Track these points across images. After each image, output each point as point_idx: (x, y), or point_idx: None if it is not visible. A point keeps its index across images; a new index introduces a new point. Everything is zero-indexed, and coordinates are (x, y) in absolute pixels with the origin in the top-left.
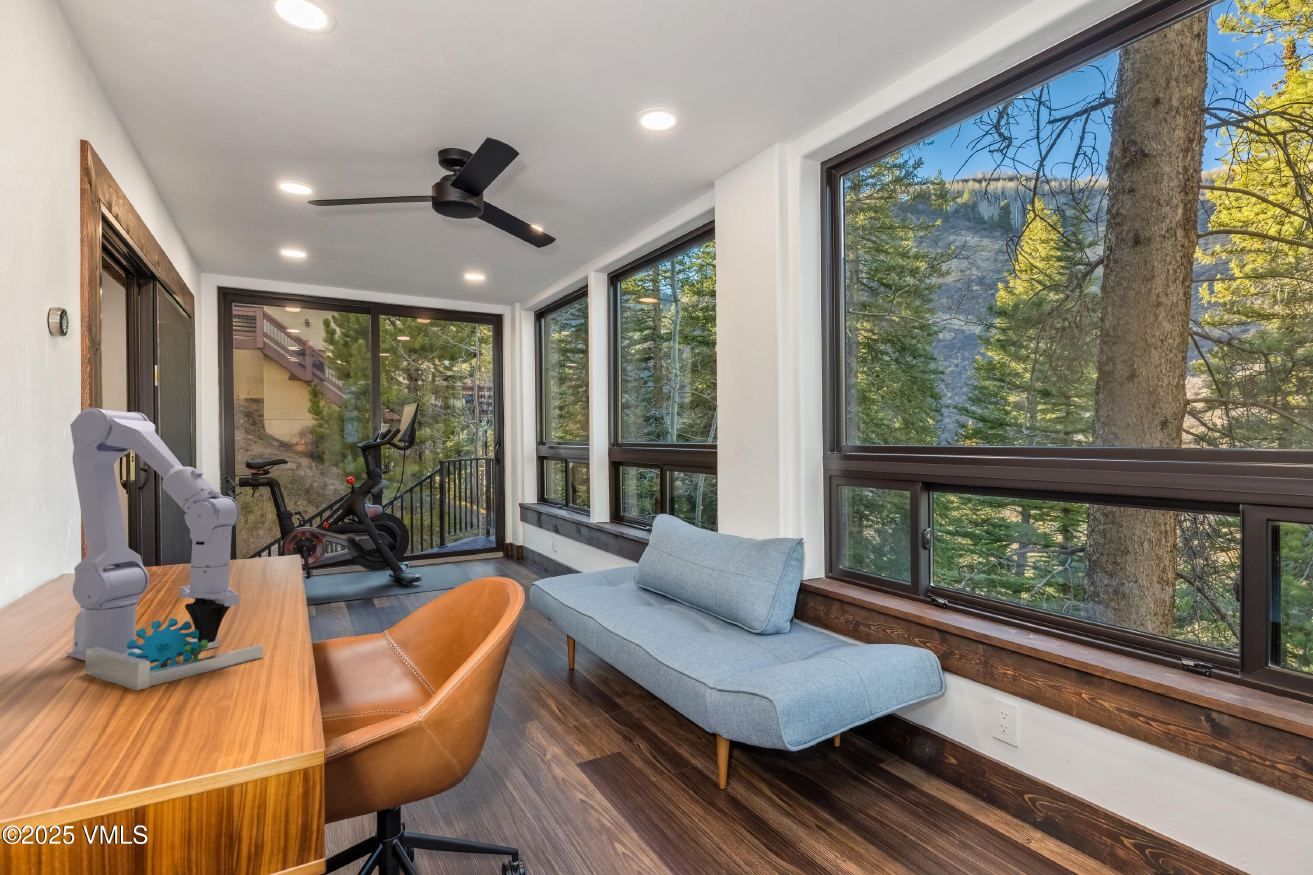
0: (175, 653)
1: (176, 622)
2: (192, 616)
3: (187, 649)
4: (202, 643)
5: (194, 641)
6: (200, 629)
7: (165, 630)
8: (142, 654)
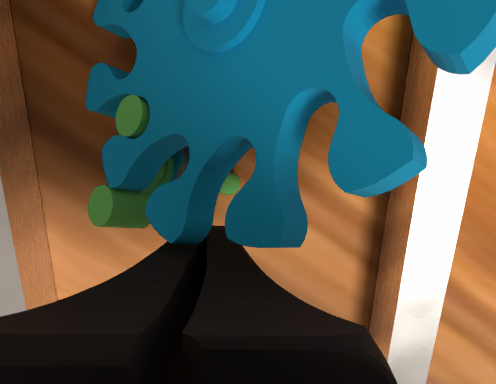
0: (141, 40)
1: (329, 167)
2: (253, 296)
3: (121, 107)
4: (99, 192)
5: (400, 279)
6: (163, 254)
7: (314, 51)
8: None
